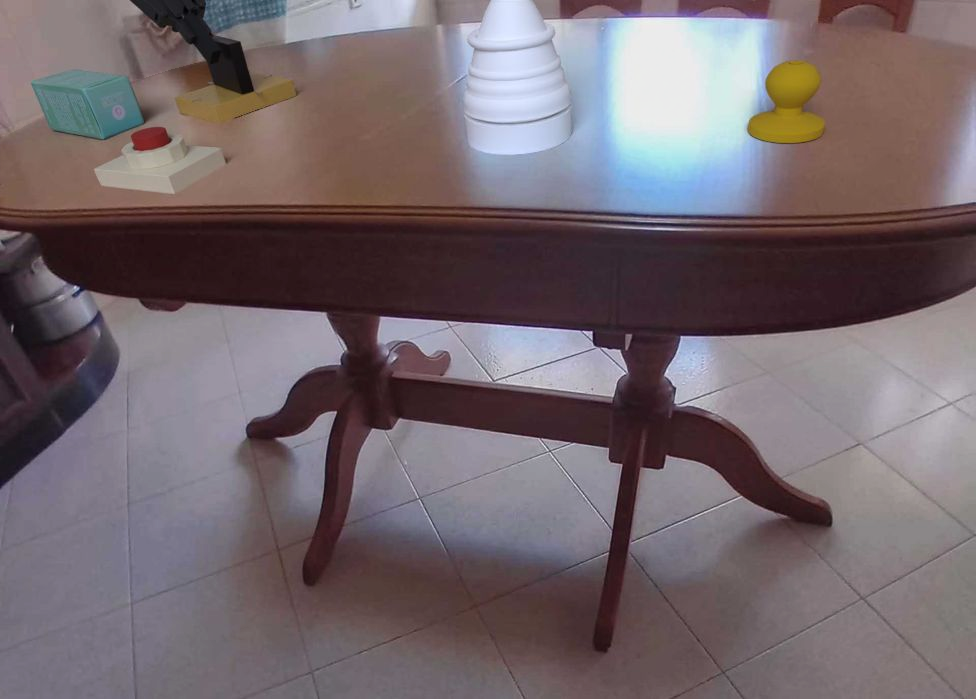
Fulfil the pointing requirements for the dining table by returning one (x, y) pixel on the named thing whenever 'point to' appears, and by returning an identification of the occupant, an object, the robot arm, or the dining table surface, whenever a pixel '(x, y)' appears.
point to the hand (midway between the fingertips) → (215, 57)
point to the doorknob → (789, 105)
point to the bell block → (161, 167)
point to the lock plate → (234, 98)
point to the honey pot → (515, 83)
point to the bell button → (150, 138)
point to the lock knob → (231, 67)
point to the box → (88, 103)
